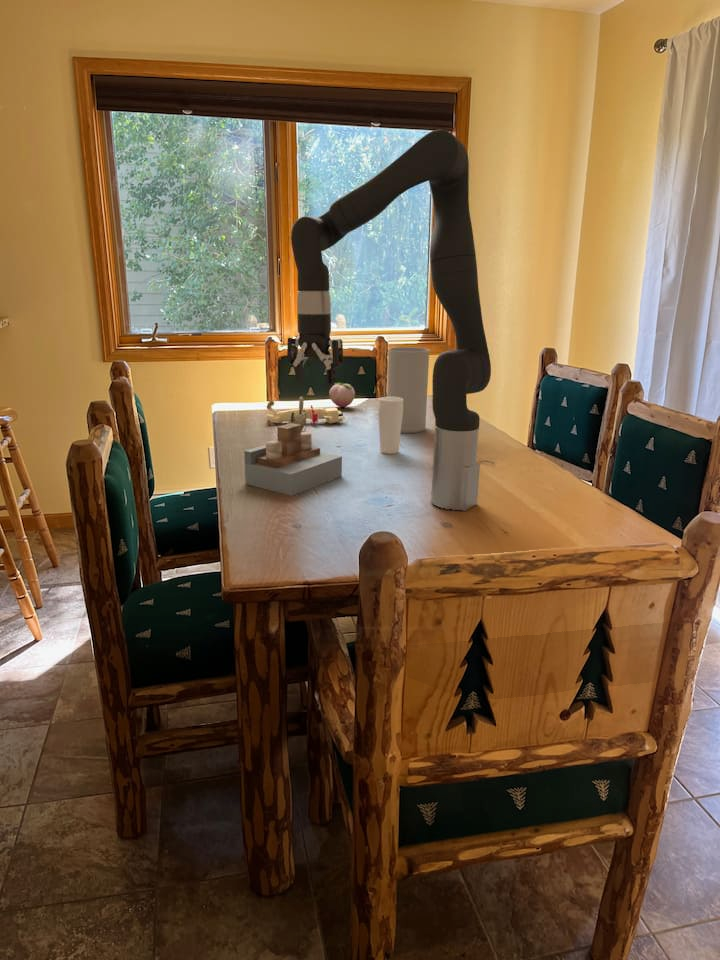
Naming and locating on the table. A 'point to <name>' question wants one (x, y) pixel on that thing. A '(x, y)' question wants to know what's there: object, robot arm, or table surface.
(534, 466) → the table surface
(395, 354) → the cylinder vase
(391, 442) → the drinking glass
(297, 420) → the wood carving
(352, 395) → the decorative fruit
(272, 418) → the cat figure
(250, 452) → the grey stepped block
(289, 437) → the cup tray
